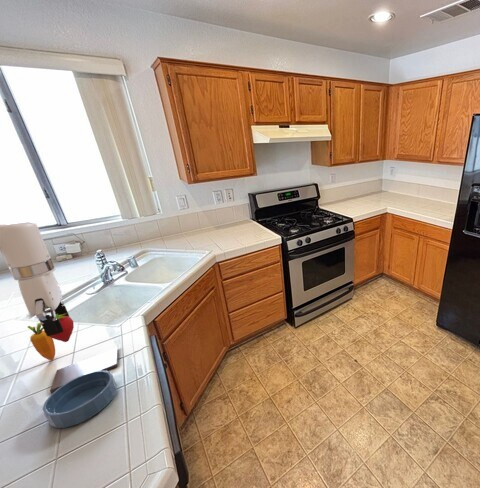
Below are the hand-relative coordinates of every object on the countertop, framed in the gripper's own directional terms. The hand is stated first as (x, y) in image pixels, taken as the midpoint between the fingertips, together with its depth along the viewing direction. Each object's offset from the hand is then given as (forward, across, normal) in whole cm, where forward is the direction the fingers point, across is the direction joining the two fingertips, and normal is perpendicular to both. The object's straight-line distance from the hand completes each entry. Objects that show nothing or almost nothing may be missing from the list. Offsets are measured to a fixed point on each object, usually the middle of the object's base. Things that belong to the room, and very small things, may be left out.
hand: (59, 326), depth 73 cm
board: (+21, -8, 0) cm, 23 cm away
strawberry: (+6, 0, 0) cm, 6 cm away
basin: (+21, +9, +1) cm, 23 cm away
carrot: (+22, -23, -12) cm, 34 cm away
